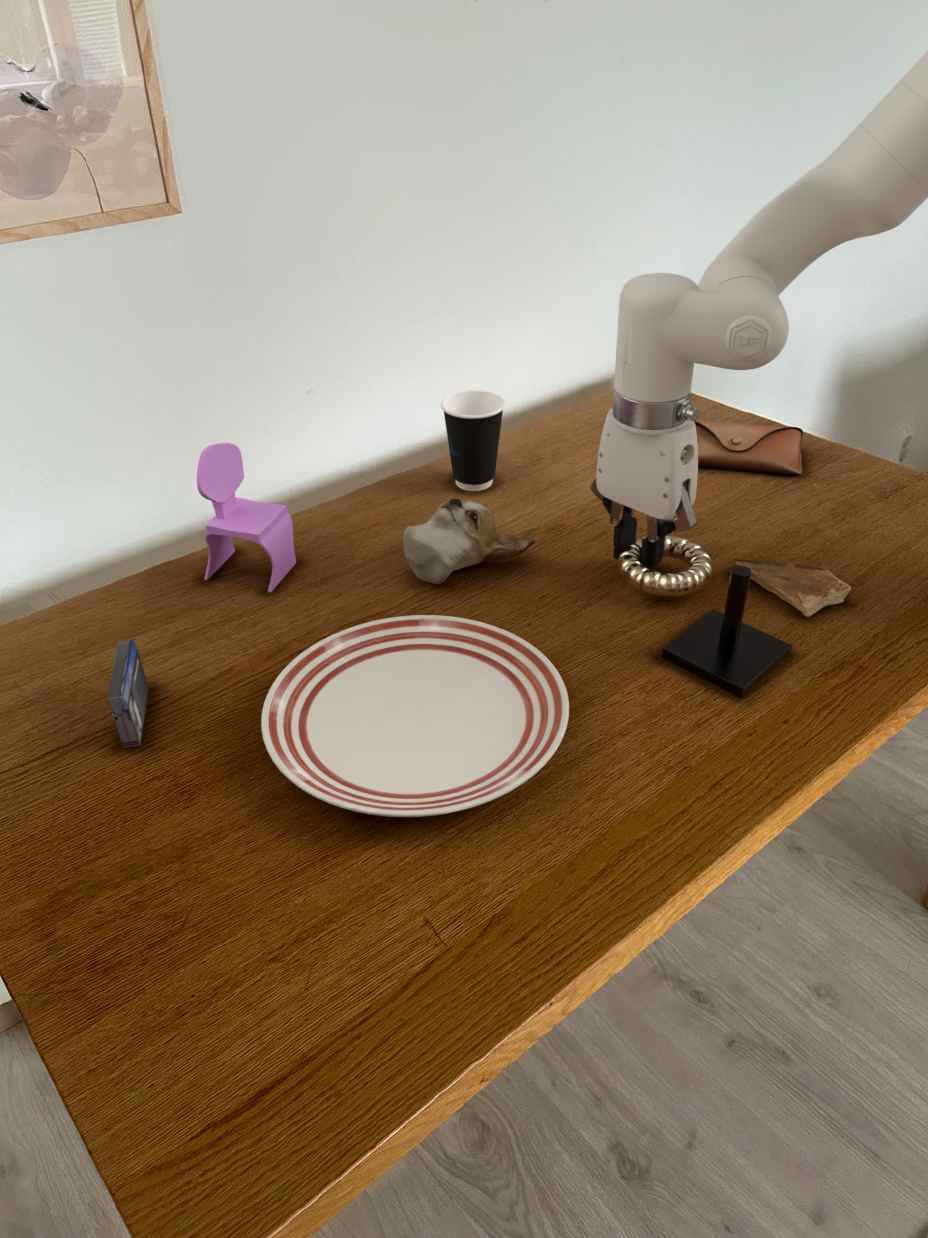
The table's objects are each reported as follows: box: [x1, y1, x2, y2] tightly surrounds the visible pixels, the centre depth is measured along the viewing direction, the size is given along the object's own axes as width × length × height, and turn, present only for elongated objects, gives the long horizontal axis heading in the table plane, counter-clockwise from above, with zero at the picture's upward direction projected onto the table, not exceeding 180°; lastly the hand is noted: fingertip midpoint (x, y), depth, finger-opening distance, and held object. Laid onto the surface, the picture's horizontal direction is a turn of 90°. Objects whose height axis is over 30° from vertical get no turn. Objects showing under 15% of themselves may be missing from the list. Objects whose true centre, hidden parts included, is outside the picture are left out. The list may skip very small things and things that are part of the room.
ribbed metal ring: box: [616, 534, 714, 597], centre depth 106 cm, size 10×10×2 cm
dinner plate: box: [260, 614, 570, 818], centre depth 89 cm, size 28×27×3 cm
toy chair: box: [196, 442, 297, 593], centre depth 106 cm, size 8×9×15 cm
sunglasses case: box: [694, 419, 804, 476], centre depth 130 cm, size 18×7×7 cm
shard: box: [733, 558, 852, 618], centre depth 106 cm, size 11×8×2 cm
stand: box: [661, 565, 793, 699], centre depth 94 cm, size 9×9×10 cm
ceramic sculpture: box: [402, 498, 536, 585], centre depth 109 cm, size 11×9×15 cm
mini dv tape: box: [107, 639, 150, 749], centre depth 89 cm, size 8×2×6 cm, turn 9°
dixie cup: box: [440, 389, 507, 492], centre depth 123 cm, size 8×8×11 cm
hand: (637, 558), depth 108 cm, fingers closed on ribbed metal ring, 2 cm apart
